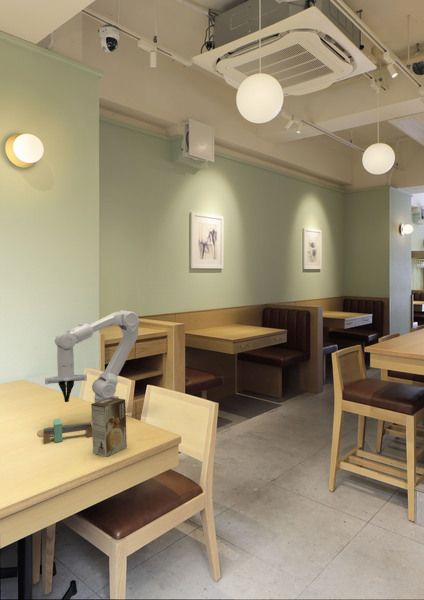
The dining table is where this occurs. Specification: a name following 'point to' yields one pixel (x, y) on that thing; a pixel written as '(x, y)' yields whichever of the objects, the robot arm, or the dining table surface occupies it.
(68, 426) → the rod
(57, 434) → the green rectangular loop
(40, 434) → the coaster
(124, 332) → the robot arm
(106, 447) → the coffee box
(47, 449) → the dining table surface
